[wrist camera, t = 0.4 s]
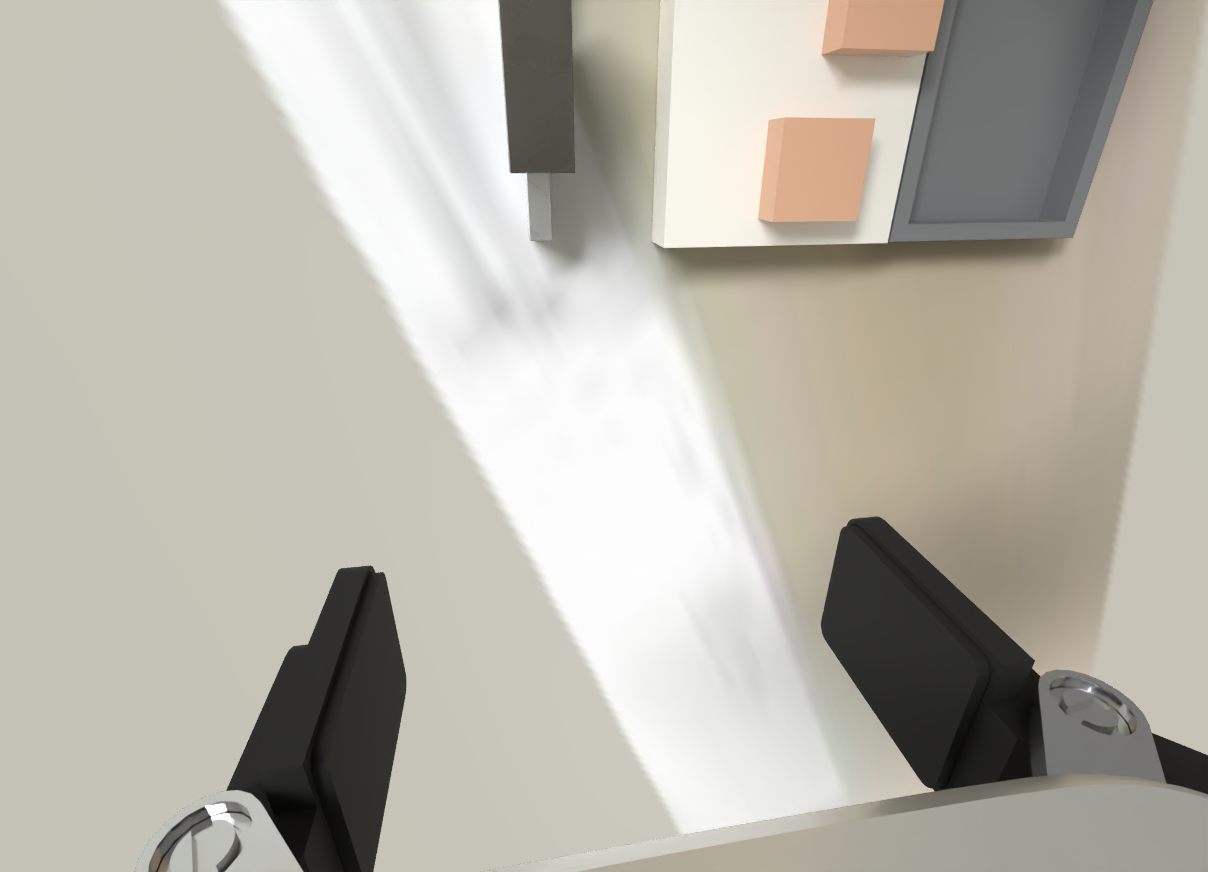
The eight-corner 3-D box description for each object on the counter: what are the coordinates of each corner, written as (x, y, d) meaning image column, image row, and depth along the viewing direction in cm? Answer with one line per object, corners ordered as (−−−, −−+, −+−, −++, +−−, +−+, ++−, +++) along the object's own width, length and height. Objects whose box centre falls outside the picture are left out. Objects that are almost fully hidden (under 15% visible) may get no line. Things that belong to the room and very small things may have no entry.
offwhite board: (663, -95, 29) (680, -121, 26) (918, -78, 31) (958, -101, 28) (651, 241, 35) (664, 247, 33) (859, 236, 37) (887, 242, 35)
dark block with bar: (491, -91, 28) (488, -163, 22) (553, -87, 28) (567, -157, 22) (513, 235, 34) (515, 251, 28) (563, 233, 35) (576, 250, 28)
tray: (926, -78, 31) (960, -97, 28) (1134, -64, 32) (1180, -81, 30) (866, 236, 38) (889, 241, 35) (1040, 233, 39) (1072, 237, 37)
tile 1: (768, 119, 31) (785, 117, 29) (854, 120, 31) (875, 118, 30) (757, 218, 33) (772, 222, 31) (838, 217, 34) (857, 220, 32)
